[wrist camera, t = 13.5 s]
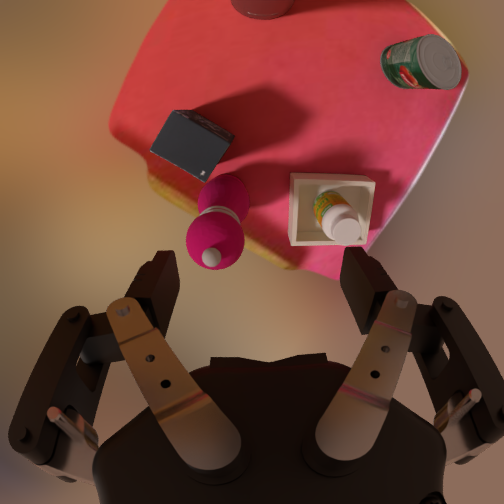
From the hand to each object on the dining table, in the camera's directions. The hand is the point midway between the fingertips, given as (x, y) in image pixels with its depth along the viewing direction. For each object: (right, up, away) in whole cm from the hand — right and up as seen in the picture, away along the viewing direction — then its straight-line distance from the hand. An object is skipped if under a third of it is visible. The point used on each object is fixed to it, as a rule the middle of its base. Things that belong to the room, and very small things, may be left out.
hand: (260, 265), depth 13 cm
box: (-8, +17, +25) cm, 31 cm away
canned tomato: (+23, +30, +18) cm, 42 cm away
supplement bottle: (+12, +8, +30) cm, 33 cm away
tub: (+12, +8, +30) cm, 33 cm away
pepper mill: (-4, +10, +29) cm, 31 cm away
